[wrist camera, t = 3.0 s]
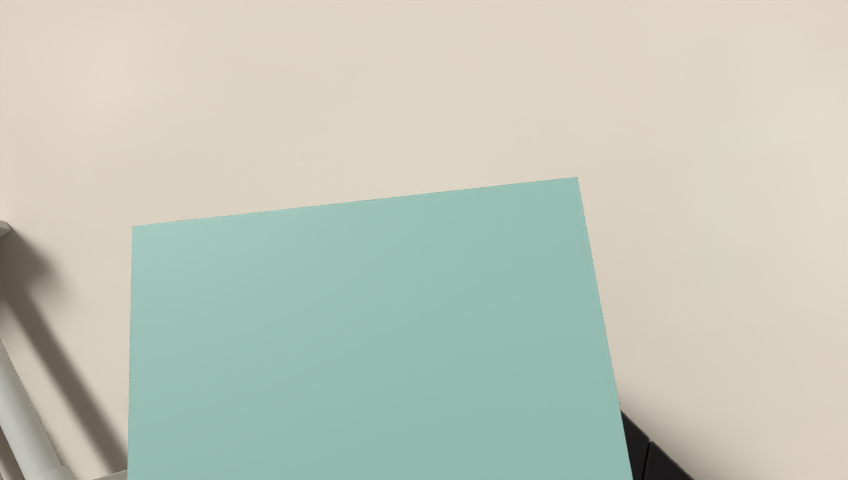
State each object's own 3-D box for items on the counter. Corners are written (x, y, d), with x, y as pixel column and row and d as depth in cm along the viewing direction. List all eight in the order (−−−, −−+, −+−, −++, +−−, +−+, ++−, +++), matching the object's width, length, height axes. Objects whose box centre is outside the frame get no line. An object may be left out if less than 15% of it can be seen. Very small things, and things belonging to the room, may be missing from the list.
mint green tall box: (488, 456, 15) (731, 1017, 3) (379, 468, 15) (115, 1080, 3) (466, 276, 16) (560, 84, 4) (365, 287, 16) (134, 131, 4)
